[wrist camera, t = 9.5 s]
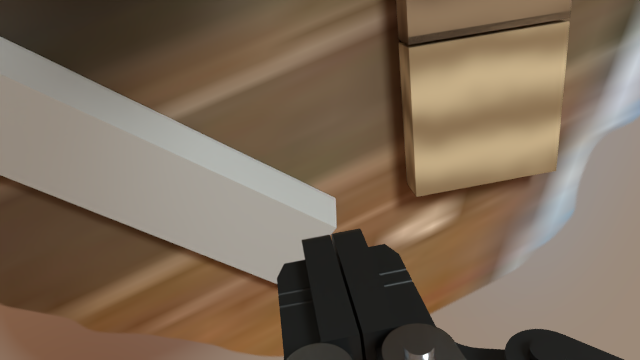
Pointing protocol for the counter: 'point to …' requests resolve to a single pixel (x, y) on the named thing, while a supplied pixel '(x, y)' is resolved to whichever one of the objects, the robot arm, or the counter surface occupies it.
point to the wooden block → (471, 16)
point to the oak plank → (482, 106)
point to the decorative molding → (150, 169)
